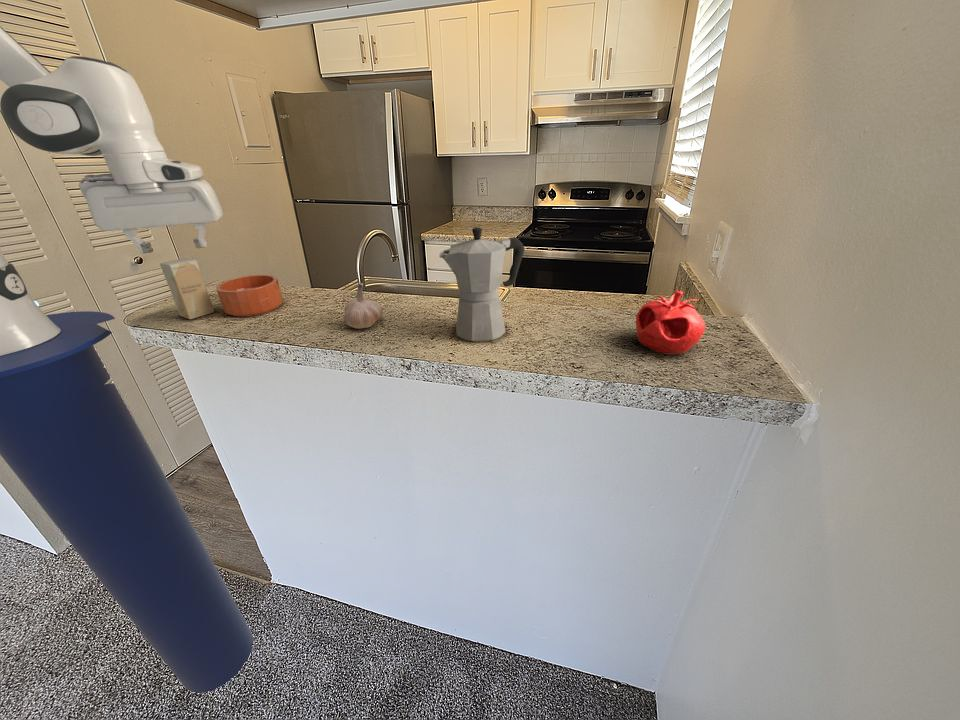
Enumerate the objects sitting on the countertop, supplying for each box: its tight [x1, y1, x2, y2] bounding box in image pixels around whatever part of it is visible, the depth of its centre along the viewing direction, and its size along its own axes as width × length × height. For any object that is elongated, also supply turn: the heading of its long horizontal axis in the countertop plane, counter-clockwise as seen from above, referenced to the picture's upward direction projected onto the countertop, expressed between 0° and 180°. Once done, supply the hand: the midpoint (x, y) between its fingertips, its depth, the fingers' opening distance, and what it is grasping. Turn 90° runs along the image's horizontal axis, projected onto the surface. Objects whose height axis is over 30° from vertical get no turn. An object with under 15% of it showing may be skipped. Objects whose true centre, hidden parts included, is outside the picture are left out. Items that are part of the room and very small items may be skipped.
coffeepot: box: [438, 226, 525, 343], centre depth 68 cm, size 15×9×18 cm, turn 117°
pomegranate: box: [635, 290, 706, 355], centre depth 63 cm, size 10×10×9 cm
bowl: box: [215, 274, 284, 317], centre depth 85 cm, size 11×11×6 cm
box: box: [159, 257, 215, 320], centre depth 82 cm, size 5×4×11 cm
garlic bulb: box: [343, 282, 384, 330], centre depth 75 cm, size 8×7×8 cm
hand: (175, 250), depth 78 cm, fingers open, 8 cm apart
